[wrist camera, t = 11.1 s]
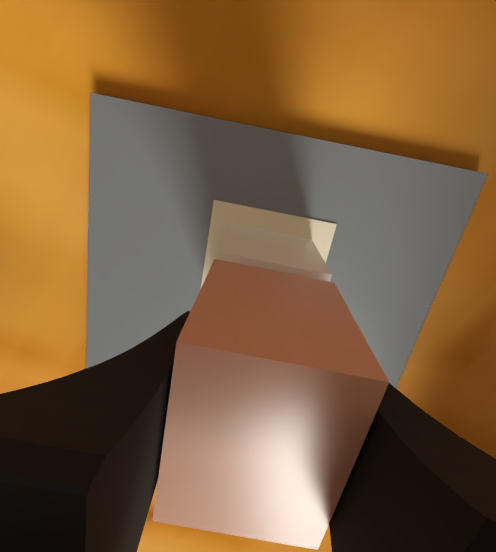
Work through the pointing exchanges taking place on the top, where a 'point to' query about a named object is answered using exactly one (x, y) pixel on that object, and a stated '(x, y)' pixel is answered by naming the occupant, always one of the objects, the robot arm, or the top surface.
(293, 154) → the baseplate
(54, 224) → the top surface
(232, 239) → the white brick
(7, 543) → the robot arm
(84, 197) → the top surface
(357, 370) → the terracotta brick
